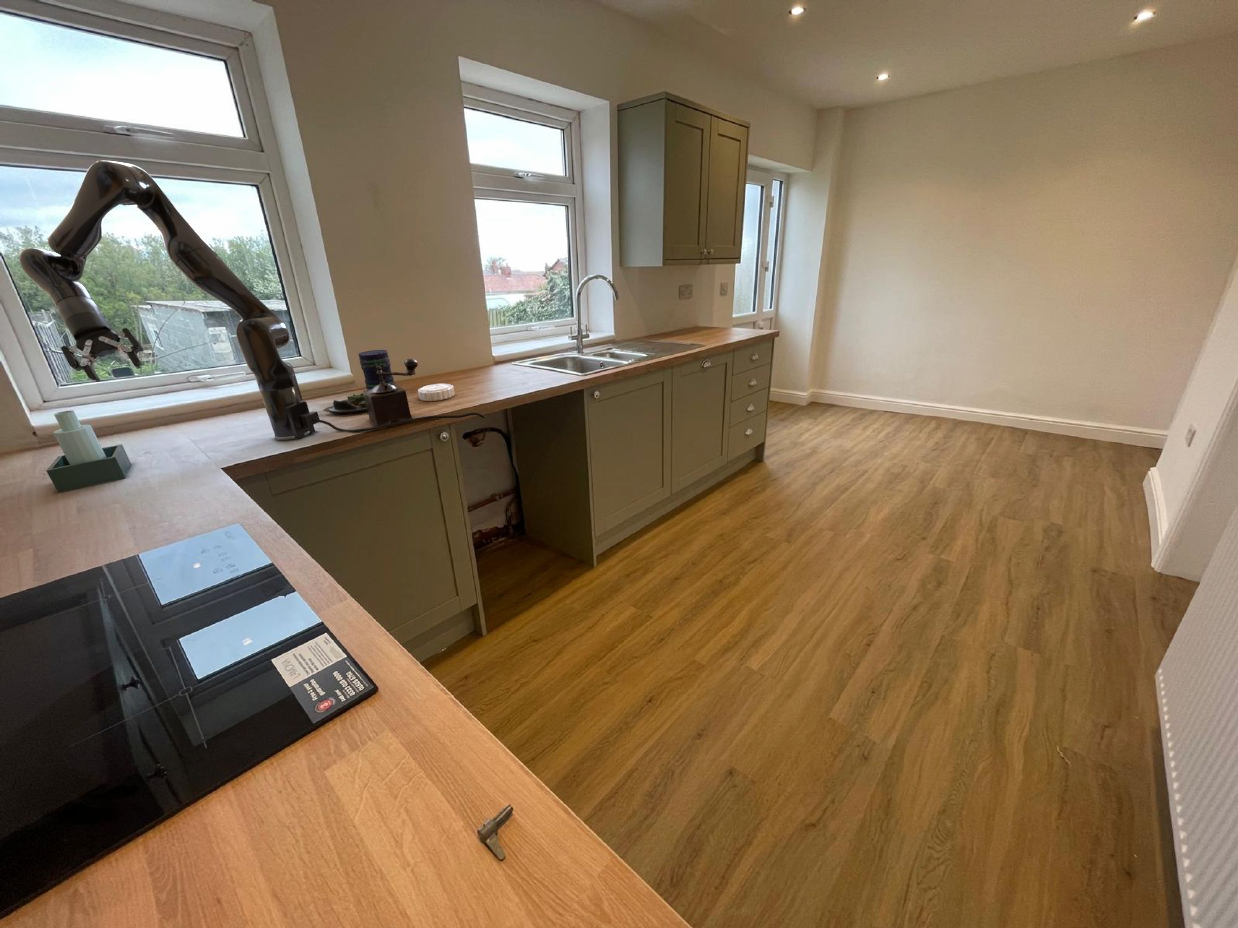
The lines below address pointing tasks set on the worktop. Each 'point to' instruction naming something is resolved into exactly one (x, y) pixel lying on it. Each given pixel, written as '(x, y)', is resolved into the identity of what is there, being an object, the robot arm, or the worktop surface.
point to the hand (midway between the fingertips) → (118, 373)
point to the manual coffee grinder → (389, 398)
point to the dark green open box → (89, 470)
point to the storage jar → (375, 367)
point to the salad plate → (349, 406)
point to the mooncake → (436, 392)
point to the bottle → (77, 439)
